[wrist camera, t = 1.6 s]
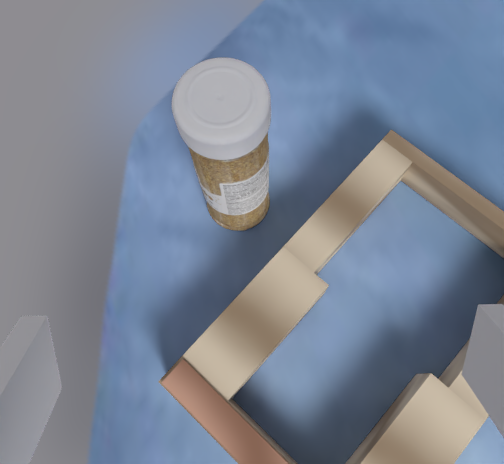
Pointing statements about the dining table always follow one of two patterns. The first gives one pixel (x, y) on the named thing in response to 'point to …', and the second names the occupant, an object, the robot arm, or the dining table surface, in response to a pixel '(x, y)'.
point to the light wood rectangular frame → (304, 298)
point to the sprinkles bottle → (227, 137)
